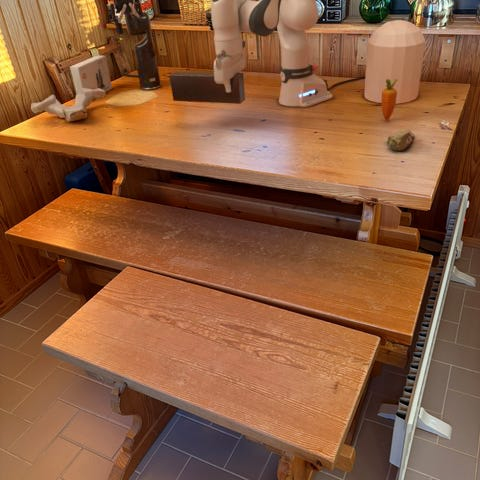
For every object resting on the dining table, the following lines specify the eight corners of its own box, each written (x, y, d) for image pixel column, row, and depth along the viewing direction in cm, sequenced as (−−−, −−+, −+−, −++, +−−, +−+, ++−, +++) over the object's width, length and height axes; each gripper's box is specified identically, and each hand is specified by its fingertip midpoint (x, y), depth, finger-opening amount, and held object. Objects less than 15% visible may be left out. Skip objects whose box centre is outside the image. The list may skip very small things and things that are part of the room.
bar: (173, 100, 171) (169, 75, 166) (179, 96, 174) (175, 71, 169) (240, 104, 162) (238, 76, 156) (245, 99, 165) (243, 72, 160)
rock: (408, 140, 153) (379, 139, 152) (414, 122, 149) (384, 120, 148) (421, 154, 144) (391, 153, 143) (428, 135, 140) (396, 133, 139)
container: (387, 107, 176) (395, 28, 160) (353, 94, 192) (357, 21, 176) (429, 96, 183) (441, 19, 167) (393, 84, 199) (400, 12, 183)
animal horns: (27, 127, 191) (17, 99, 184) (60, 107, 212) (52, 81, 206) (89, 127, 185) (81, 97, 179) (116, 106, 206) (110, 79, 200)
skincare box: (87, 102, 214) (77, 67, 204) (78, 102, 215) (68, 66, 206) (113, 88, 229) (105, 54, 220) (104, 88, 231) (96, 54, 222)
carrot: (394, 118, 167) (398, 76, 158) (393, 123, 163) (397, 80, 154) (379, 117, 168) (383, 75, 160) (378, 122, 165) (382, 80, 156)
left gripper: (126, -21, 170) (136, 27, 179) (96, -15, 161) (108, 35, 170) (141, -21, 166) (149, 28, 175) (111, -15, 157) (121, 36, 166)
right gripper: (224, 55, 145) (229, 99, 153) (247, 40, 161) (250, 80, 168) (206, 55, 148) (212, 98, 155) (231, 40, 163) (234, 80, 171)
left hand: (129, 31), depth 173 cm, fingers open, 8 cm apart
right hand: (232, 88), depth 162 cm, fingers closed on bar, 5 cm apart
